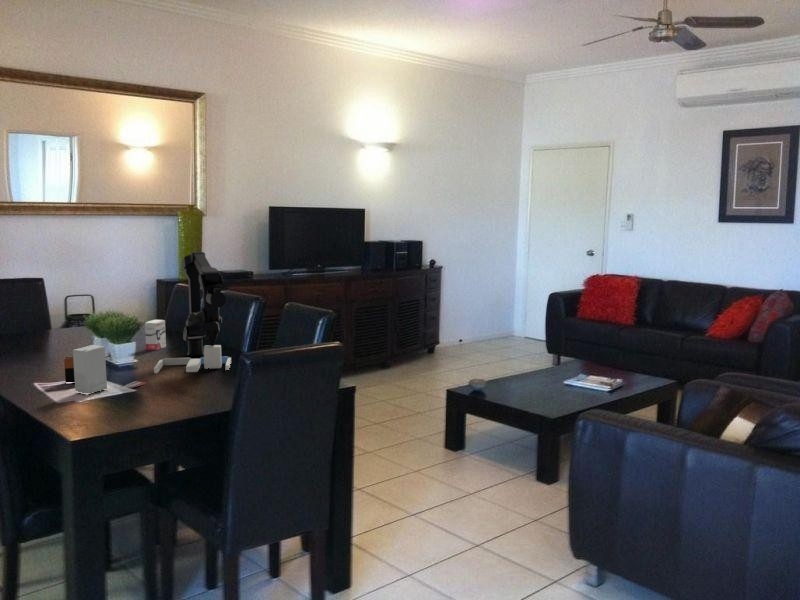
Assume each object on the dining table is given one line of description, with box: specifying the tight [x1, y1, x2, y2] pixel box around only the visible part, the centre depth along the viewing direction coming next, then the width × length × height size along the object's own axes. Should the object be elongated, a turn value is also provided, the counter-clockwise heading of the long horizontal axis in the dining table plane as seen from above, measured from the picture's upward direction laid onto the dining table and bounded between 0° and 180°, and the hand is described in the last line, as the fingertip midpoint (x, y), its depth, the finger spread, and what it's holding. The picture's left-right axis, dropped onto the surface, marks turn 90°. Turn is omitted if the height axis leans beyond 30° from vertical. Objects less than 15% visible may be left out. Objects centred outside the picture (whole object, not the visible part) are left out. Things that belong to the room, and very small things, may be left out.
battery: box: [63, 353, 75, 383], centre depth 248 cm, size 4×7×10 cm, turn 110°
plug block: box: [203, 344, 223, 370], centre depth 272 cm, size 4×6×8 cm, turn 100°
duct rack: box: [153, 355, 232, 374], centre depth 271 cm, size 14×26×2 cm, turn 100°
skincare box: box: [72, 344, 108, 393], centre depth 235 cm, size 8×6×15 cm
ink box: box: [144, 319, 167, 351], centre depth 307 cm, size 8×5×12 cm, turn 169°
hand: (212, 345), depth 271 cm, fingers closed
